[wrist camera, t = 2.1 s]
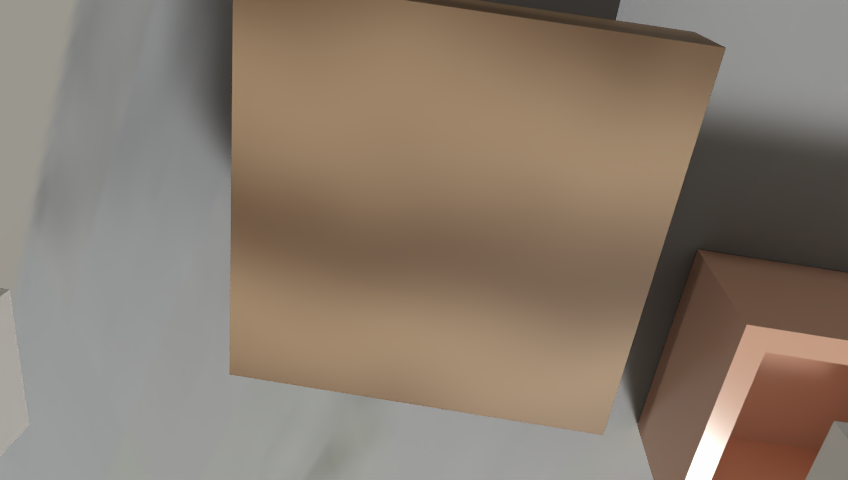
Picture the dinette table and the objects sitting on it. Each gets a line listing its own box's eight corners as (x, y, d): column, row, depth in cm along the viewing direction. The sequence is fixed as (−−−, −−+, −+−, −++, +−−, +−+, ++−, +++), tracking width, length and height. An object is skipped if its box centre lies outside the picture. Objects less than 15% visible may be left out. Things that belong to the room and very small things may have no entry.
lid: (266, -32, 17) (232, -26, 15) (694, 31, 17) (725, 48, 15) (256, 328, 22) (229, 374, 20) (591, 382, 22) (602, 434, 19)
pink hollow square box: (697, 249, 24) (746, 324, 19) (925, 284, 24) (1029, 369, 19) (637, 425, 27) (667, 524, 23) (836, 457, 27) (905, 563, 22)
